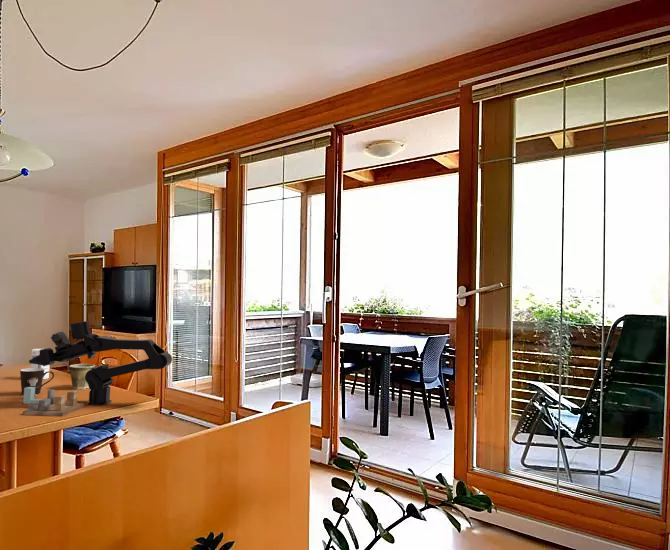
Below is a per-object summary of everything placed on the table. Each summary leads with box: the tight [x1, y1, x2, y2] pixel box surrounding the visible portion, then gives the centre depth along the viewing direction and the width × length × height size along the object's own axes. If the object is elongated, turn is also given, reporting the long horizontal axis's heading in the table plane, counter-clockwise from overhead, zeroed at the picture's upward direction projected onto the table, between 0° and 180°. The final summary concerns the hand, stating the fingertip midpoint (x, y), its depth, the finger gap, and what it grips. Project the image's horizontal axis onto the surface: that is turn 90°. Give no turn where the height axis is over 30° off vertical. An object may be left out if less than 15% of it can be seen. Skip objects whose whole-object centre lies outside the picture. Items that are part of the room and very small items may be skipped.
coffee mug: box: [19, 367, 55, 396], centre depth 196 cm, size 12×9×10 cm
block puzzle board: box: [22, 388, 85, 417], centre depth 171 cm, size 14×14×6 cm
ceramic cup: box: [68, 363, 96, 390], centre depth 211 cm, size 13×10×10 cm
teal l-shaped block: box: [22, 387, 43, 405], centre depth 175 cm, size 7×2×6 cm, turn 90°
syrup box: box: [30, 348, 51, 380], centre depth 227 cm, size 6×6×14 cm
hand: (36, 360), depth 184 cm, fingers open, 9 cm apart
